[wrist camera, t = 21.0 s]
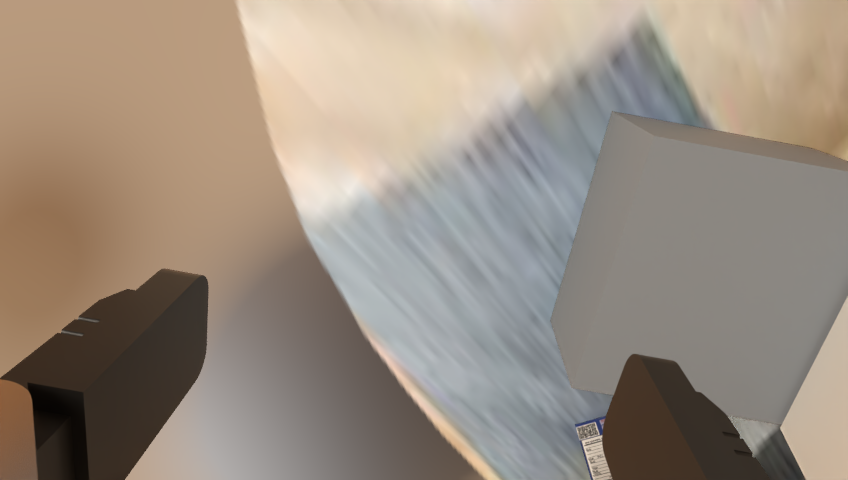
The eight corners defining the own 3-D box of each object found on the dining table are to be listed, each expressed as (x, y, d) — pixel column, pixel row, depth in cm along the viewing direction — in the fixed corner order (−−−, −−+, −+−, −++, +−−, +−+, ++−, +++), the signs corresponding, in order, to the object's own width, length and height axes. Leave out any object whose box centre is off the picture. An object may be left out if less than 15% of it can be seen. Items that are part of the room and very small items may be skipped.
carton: (611, 111, 44) (654, 135, 35) (811, 148, 44) (906, 182, 35) (550, 320, 51) (571, 388, 42) (722, 351, 51) (782, 425, 42)
